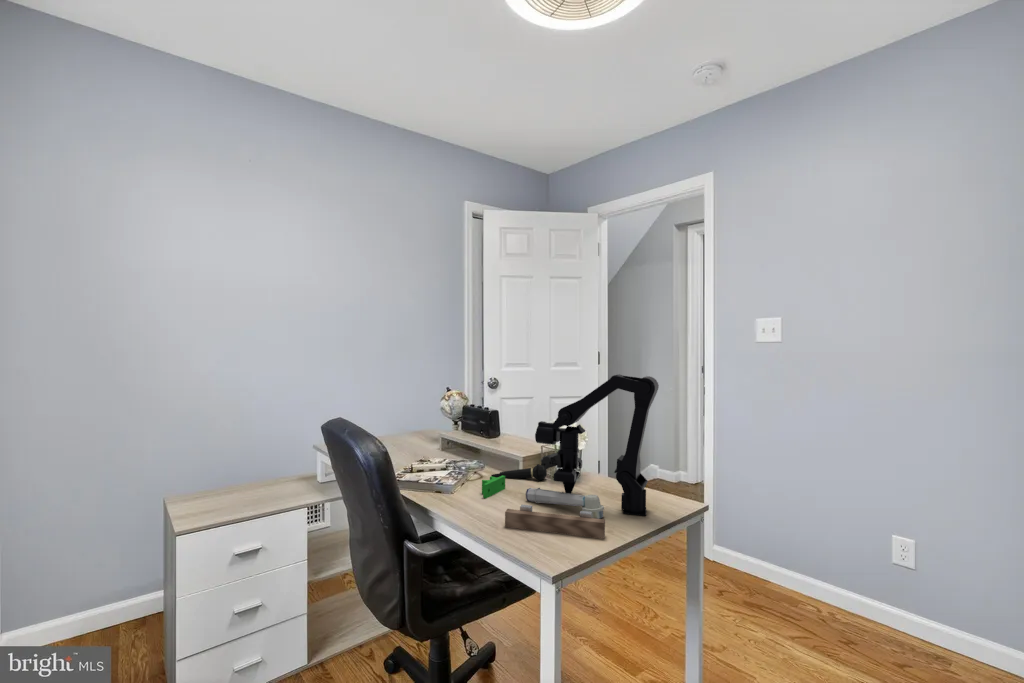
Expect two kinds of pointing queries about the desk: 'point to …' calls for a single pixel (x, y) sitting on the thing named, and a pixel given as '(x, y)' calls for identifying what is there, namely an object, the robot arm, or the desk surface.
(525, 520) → the rail
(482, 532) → the desk surface
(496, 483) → the pipe clamp
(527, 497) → the grey elongated rounded piece
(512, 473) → the microphone
